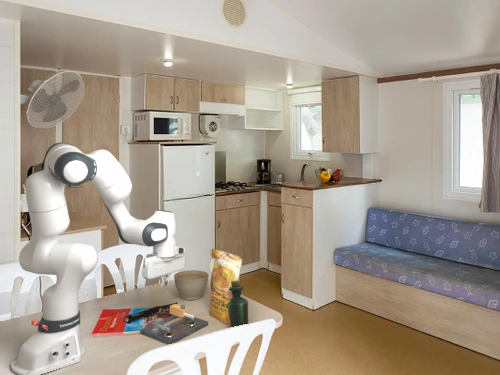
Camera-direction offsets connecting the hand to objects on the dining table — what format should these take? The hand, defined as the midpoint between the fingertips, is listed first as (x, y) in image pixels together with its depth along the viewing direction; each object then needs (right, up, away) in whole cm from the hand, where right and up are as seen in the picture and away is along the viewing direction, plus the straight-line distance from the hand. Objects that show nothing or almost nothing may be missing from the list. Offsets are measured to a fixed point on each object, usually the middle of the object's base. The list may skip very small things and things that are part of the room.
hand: (164, 285), depth 163 cm
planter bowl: (+6, -14, +33) cm, 36 cm away
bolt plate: (+5, -17, -2) cm, 17 cm away
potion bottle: (+30, -16, -3) cm, 34 cm away
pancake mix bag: (+22, -16, +10) cm, 29 cm away
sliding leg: (+7, -14, +4) cm, 16 cm away
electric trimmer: (-11, -16, +9) cm, 22 cm away
